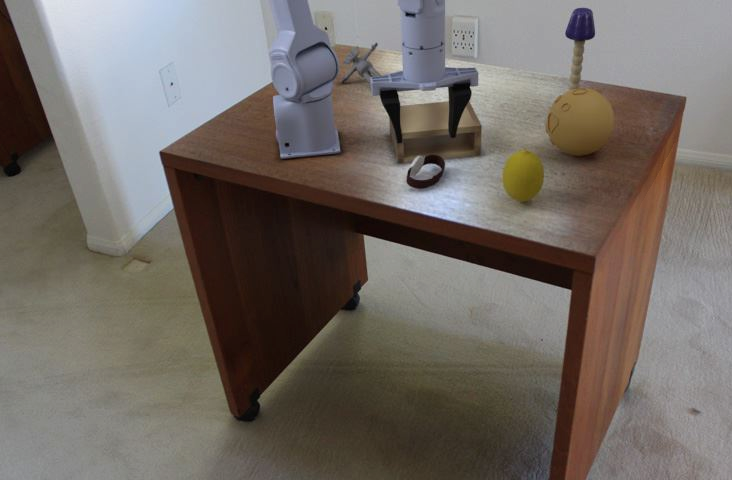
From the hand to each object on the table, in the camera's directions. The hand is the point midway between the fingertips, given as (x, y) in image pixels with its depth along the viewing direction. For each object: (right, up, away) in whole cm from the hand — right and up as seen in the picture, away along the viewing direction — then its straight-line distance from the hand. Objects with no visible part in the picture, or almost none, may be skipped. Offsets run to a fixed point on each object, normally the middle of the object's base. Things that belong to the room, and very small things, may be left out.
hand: (425, 137), depth 106 cm
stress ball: (+24, 0, +9) cm, 25 cm away
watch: (0, -6, +4) cm, 7 cm away
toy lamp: (+26, +9, +21) cm, 35 cm away
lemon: (+13, -10, -2) cm, 17 cm away
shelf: (+2, +2, +13) cm, 13 cm away
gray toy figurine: (-9, +18, +36) cm, 41 cm away
